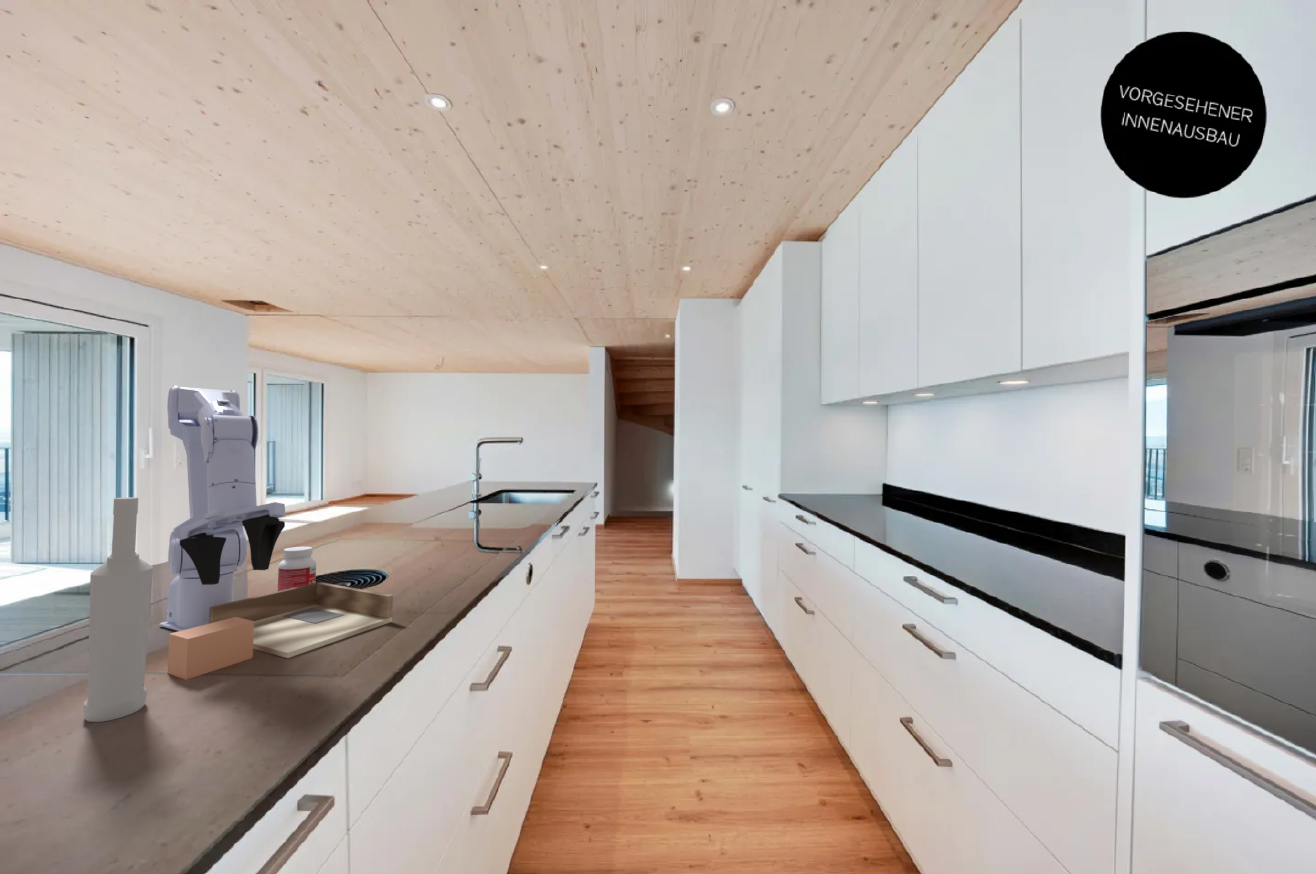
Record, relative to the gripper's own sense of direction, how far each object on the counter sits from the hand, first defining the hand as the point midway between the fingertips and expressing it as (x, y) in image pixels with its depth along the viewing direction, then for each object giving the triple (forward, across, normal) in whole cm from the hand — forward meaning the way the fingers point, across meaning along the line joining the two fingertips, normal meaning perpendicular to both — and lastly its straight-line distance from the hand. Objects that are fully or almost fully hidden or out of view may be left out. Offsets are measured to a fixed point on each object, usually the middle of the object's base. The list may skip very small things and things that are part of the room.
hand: (235, 576), depth 75 cm
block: (+11, -5, +2) cm, 13 cm away
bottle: (+15, -5, -11) cm, 19 cm away
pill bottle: (+2, -13, +28) cm, 31 cm away
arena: (+8, -2, +16) cm, 18 cm away
